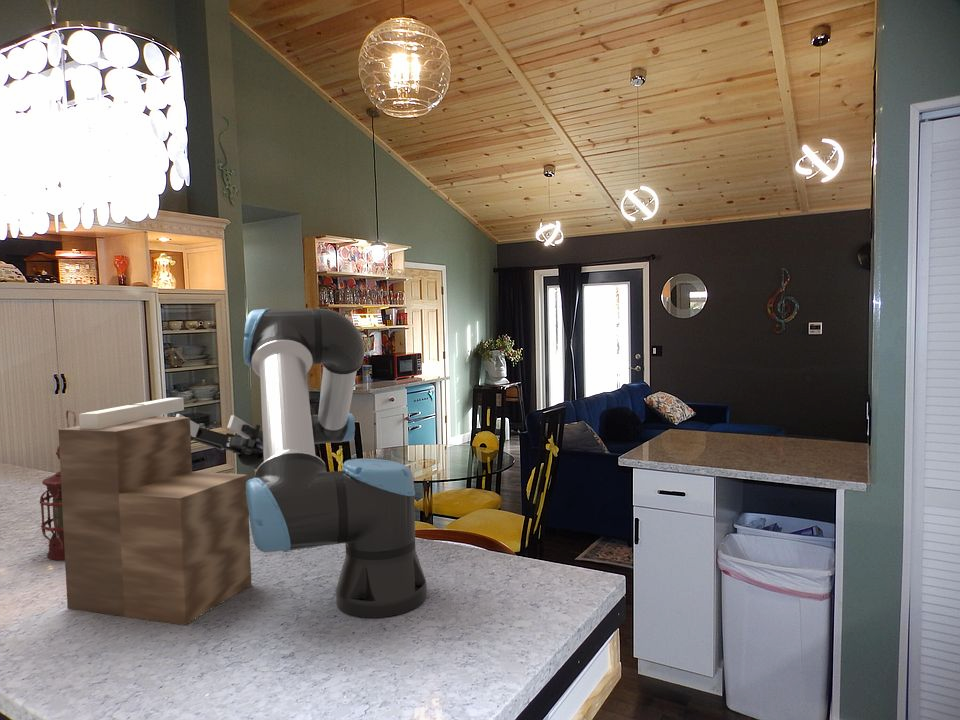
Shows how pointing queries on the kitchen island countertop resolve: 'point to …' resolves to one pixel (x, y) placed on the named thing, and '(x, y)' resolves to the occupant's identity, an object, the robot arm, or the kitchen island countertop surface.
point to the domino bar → (129, 413)
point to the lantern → (54, 510)
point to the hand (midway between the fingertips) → (202, 420)
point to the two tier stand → (149, 523)
